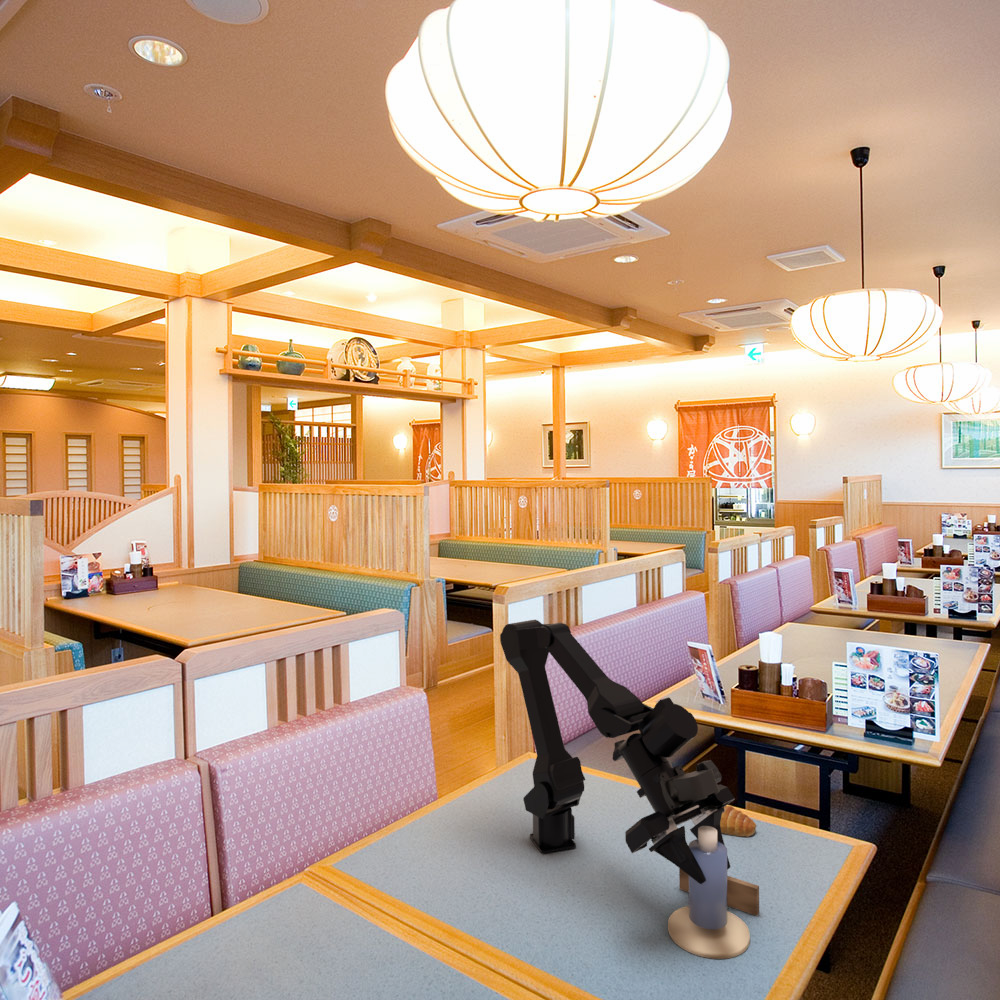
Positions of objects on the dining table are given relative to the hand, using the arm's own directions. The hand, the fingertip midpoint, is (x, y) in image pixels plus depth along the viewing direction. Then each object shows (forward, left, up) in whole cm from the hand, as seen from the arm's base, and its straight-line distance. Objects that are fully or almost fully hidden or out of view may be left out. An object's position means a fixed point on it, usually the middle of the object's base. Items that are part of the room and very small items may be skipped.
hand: (715, 875), depth 101 cm
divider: (+5, +8, -9) cm, 13 cm away
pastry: (+21, +28, -9) cm, 36 cm away
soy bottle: (0, +1, -7) cm, 7 cm away
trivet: (0, +1, -9) cm, 9 cm away
